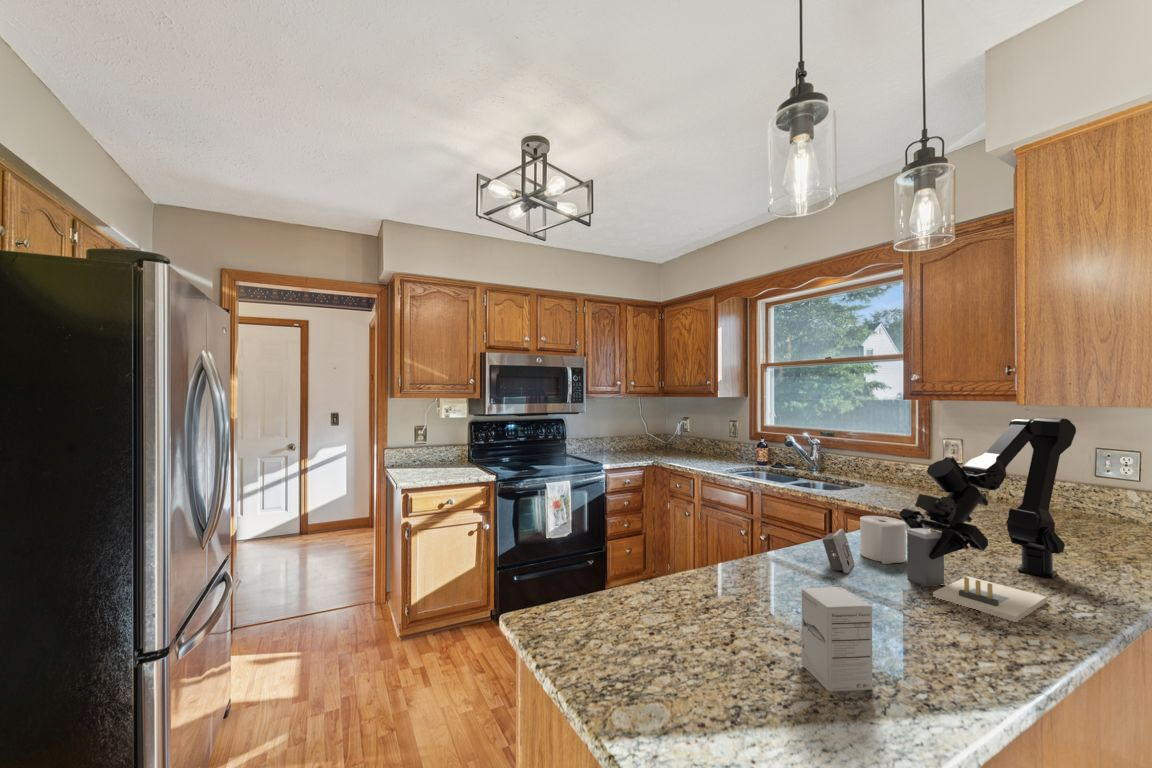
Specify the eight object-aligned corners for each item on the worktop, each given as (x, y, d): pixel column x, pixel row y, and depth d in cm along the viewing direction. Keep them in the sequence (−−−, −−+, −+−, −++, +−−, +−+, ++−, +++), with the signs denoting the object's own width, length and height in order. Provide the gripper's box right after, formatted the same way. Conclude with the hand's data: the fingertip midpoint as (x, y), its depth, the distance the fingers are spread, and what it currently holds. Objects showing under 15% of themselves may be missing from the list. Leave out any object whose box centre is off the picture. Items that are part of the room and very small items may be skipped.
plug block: (924, 577, 119) (924, 527, 119) (944, 585, 114) (943, 533, 114) (907, 579, 118) (907, 528, 118) (926, 586, 113) (925, 534, 113)
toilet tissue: (888, 550, 140) (888, 515, 140) (919, 565, 128) (919, 526, 128) (852, 550, 139) (851, 515, 140) (879, 565, 127) (879, 526, 128)
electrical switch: (848, 575, 120) (843, 536, 121) (825, 572, 123) (820, 534, 124) (855, 565, 128) (850, 528, 128) (833, 562, 131) (829, 527, 132)
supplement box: (800, 665, 79) (799, 587, 80) (843, 663, 80) (842, 586, 80) (827, 693, 72) (826, 606, 72) (874, 691, 73) (873, 605, 73)
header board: (967, 581, 117) (967, 559, 117) (1046, 602, 105) (1046, 577, 105) (933, 597, 107) (932, 573, 107) (1016, 622, 95) (1015, 595, 95)
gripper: (904, 476, 126) (868, 521, 124) (977, 490, 108) (936, 543, 106) (930, 505, 128) (894, 550, 125) (1006, 524, 109) (966, 577, 107)
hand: (920, 554), depth 116 cm, fingers closed on plug block, 5 cm apart
